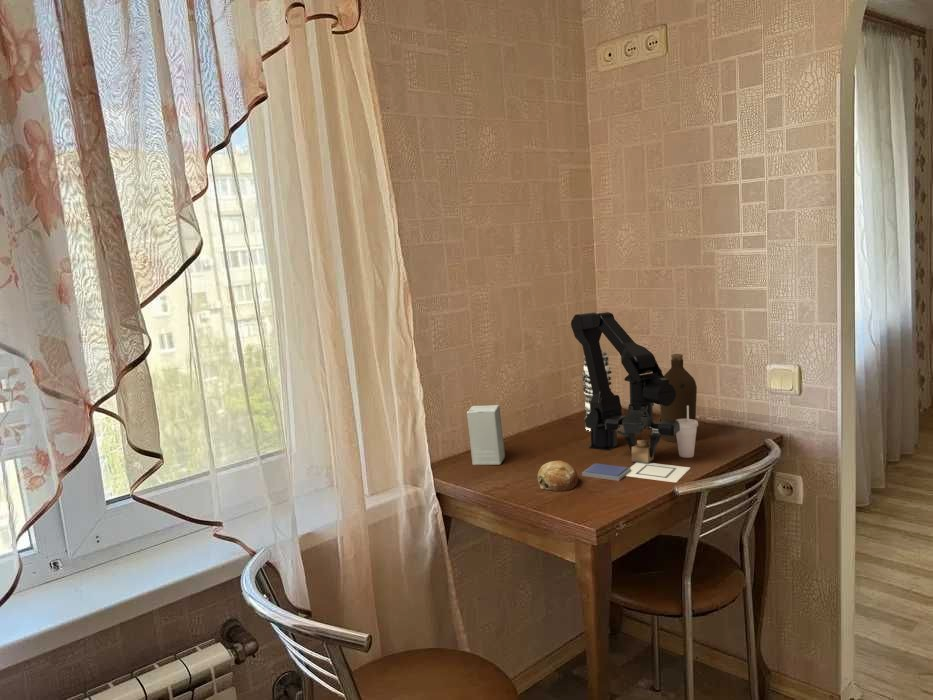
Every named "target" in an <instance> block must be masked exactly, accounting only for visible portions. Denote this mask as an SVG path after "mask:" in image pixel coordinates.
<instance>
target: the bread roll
mask: <svg viewBox="0 0 933 700" xmlns="http://www.w3.org/2000/svg"><path fill="white" fill-rule="evenodd" d="M578 476H579V475H578V472H577V471H576V469H575V468H574V467H573V465H572V464H570V463H568V462H566V461H563V460H553V461H548V462H546V463H543V465H542V466H541V467H540V468H539V470H538V472H537V476H536V477H537V482H538V486H539V487H540V489H541V490H546V491H553V492H566V491H570V490H572V489H574V488H575V487H576V486H577V484H578V481H579V478H578Z"/></svg>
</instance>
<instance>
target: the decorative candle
mask: <svg viewBox="0 0 933 700" xmlns="http://www.w3.org/2000/svg"><path fill="white" fill-rule="evenodd" d="M601 351H602V356H603V360H604V365H605V369H606V374H607V378H608V382H609V387H611V385H612V382H611V380H612V377H611V376H610V374H612V370H610V369H611V367H610V364H609V357H610V355H609V354H608V352H606V351H605V350H603V349H601ZM582 357H583V363H584V365H583V371H582V373H581V375H582V377H581V379H582V381H583V383H582V386H583V394H585V402H584V405H585V406H584V415H585V417H584V419H585V418H586V417H587V416H588V414H589V413H590V412H591V410H590V402H591V399H592V396H593V391H592V387H591V382H590V378H589V373H588V369H587V364H586V360H585V355H582ZM610 390H611V391H612V389H611V388H610ZM584 426H585V429H586V430H585V431H587V430H589V431H588V432H590V431H591V428H588V427H586V424H585V423H584Z"/></svg>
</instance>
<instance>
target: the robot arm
mask: <svg viewBox="0 0 933 700" xmlns="http://www.w3.org/2000/svg"><path fill="white" fill-rule="evenodd" d="M570 326H571V329H572V332H573V336H574V338H575V339H576V340H577V342H579V343H580V344H581V345H582V350H583V354H584V355H585V360H586V364H587V369H588V373H589V378H590V382H591V387H592V391H593V396H592V399H591V402H590V410H591V412H590V413H589V414H588V416H587V417H586V416H585V417H586V418H585V417H584V425H585V424H586V426H585V428H586V427H588V428H591V432H590V445H589V446H588V449H593V450H604V451H611V450H612V449H614V448H616V446H618V434H620V435H622V436H623V437H624V439H625V440H626V442H627V446H628V448H629V450H630V453H631V454H632V447H633V446H635V445H637V439H636V435H639V434H642V432H643V430H651V431H652V432H651V433H650V434H649V435H648V437H649V439H650V440H649V443H650V444H649V445H650V458H652V457H653V455H655V451H656V449H657V446H658V444H659V442H660V439H661V438H662V436H663V435H668V436H673V435H675V434H676V433H677V432H679V431H680V424H679V422H678V421H677V420H665V419H664V420H663V421H662V422H660V421H659V422H654V420H655V415H654V416H653V406H654V405H655V404H656V405H658V406H660V405H663V406H669V405H671V404H672V403H673V402H674V400H675V397H676V391H675V389H674V387H673V386H672V385H671V384H669V379H662V378H663V377H664V374H663V372H662V371H663V370H662V369H661V368H660V366H659V364H658V362H657V360H656V357H655V355H654V354H653V353H652V352H651V351H650V350H649V349H647V348H646V347H645V346H643V345H640V344H638V343H636V342H635V341H634V340H633V339H632V338H631V336H630V335H629V334H628V333H627V331H626V330H624V328H623V327H622V326H621V324H619V322H618V321H617V320H616V319H615V315H614V314H613V313H612V312H608V311H605V312H599V313H597V312H586V313H578V314H574V315H573V318H572V319H571V322H570ZM602 334H603V335H604V336H605V338H606V339H607V340H608V341H609V342H610V344H611V345H612V347H614V348H615V350H616V351H617V352H618V353H619V355H620V361H621V362H620V363H621V364H622V366H623V368H624V369H625V371H626V372H627V373H628V374H627V376H626V377H624V381H625V382H629V404H628V407H627V408H628V409H627V413H626V414H625V415H623V410H622V409H623V406H622V404H621V399H620V398H621V397H620V396H619V394H614V392H613V391H612V389H611V386H609V382H610V381H609V382H608V378H607V374H606V369H605V365H604V360H603V356H602V351H601V350H602V348H601V347H602V346H601V343H600V341H601V337H602ZM584 355H583V356H584ZM610 389H611V390H610ZM617 430H618V431H617Z"/></svg>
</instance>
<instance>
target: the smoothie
mask: <svg viewBox="0 0 933 700" xmlns="http://www.w3.org/2000/svg"><path fill="white" fill-rule="evenodd" d="M677 421H678V422H679V424H680V431H679V432H677V433H676V437H677V442H676V443H677V449H678V456H679V457H681V458H688V459H689V458H693V457H694V455H695V446H696V438H697V429H698V427H699V421H698V420H697V419H696V420H694V419H689V406H687V419H677Z"/></svg>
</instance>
